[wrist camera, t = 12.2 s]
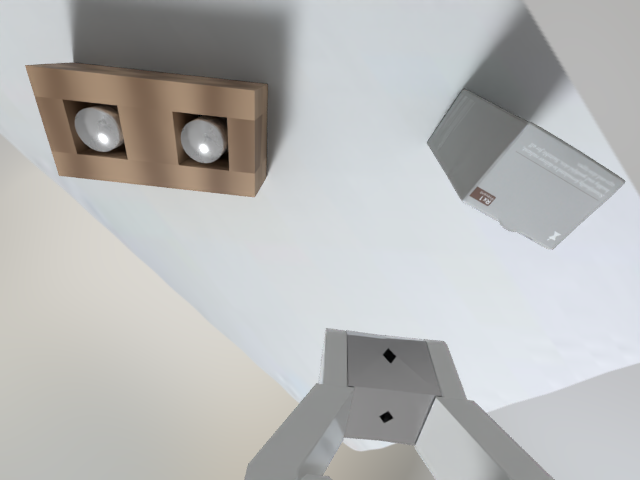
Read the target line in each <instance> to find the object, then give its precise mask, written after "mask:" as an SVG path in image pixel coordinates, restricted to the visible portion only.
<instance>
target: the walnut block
mask: <svg viewBox="0 0 640 480" xmlns="http://www.w3.org/2000/svg"><path fill="white" fill-rule="evenodd" d="M25 66H26V70H27V73H28V76H29V79H30V83H31V86H32V89H33V92H34V96H35V99H36V102H37V105H38V109H39V112H40V115H41V118H42V122H43V125H44V128H45V131H46V135H47V138H48V141H49V144H50V147H51V151H52V154H53V157H54V160H55V164H56V167H57V170H58V173H59V176H67V177H76V178H85V179H94V180H103V181H112V182H121V183H130V184H139V185H148V186H157V187H166V188H175V189H184V190H193V191H202V192H211V193H220V194H230V195H239V196H248V197H255V196H256V194H257V193H258V191H259V189H260V187H261V186H262V184H263V182H264V181H265V179H266V165H267V100H268V84H264V83H254V82H245V81H236V80H227V79H218V78H209V77H200V76H191V75H182V74H173V73H164V72H155V71H146V70H137V69H127V68H118V67H109V66H100V65H91V64H82V63H56V64H39V65H25ZM102 104H109V105H117V107H118V112H119V117H120V123H121V128H122V133H123V138H124V143H125V144H123V145H121V146H119V147H117V148H115V149H112V150H110V151H107V152H101V151H96V150H94V149H92V148H90V147H89V146H87V145H86V144H85V143H84V142H83V141H82V140H81V139H80V137H79V135H78V134H77V131H76V128H75V117H76V115H77V113H78V112H79V111H81V110H82V109H85V108H89V107H93V106H98V105H102ZM198 114H200V115H209V116H218V117H227V127H228V151H229V152H225V153H223V154H222V155H221V156H220V157H219V158H218V159H217V160H215V161H214V162H211V163H201V162H198V161H195V160H194V159H192V158H191V157H190V156H189V155H188V154H187V153H186V152H185V150H184V149H183V146H182V143H181V132H182V129H183V128H184V126H185V125H186V124H187V123H189V122H191V121H193V120H195V119H197V118H198Z"/></svg>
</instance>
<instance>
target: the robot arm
mask: <svg viewBox="0 0 640 480" xmlns="http://www.w3.org/2000/svg"><path fill="white" fill-rule="evenodd" d="M344 438H356V439H369V440H380V441H387V442H394V443H401V444H408V445H415V449H416V450H417V452H418V453H419V455H420V457H421V458H422V459H423V461H424V463H425V464H426V466H427V467H428V469H429V470H430V472H431V474H432V475H433V477H434V478H435V480H554V479H553V478H552V477H551V476H550V475H549V474H548V473H547V472H546V471H545V470H544V469H543V468H542V467H541V466H540V465H539V464H538V463H537V462H536V461H534V459H533V458H532V457H531V456H530V455H529V454H528V453H527V452H526V451H525V450H524V449H522V448H521V447H520V446H519V445H518V444H517V443H516V442H515V441H514V440H513V439H512V438H511V437H510V436H509V435H508V434H507V433H506V432H505V431H504V430H503V429H502V428H501V427H500V426H499V425H498V424H497V423H496V422H495V421H494V420H493V419H492V418H491V417H490V416H489V415H488V414H487V413H486V412H485V411H484V410H483V409H482V408H481V407H480V406H479V405H478V404H476V403H475V402H474V401H471V400H467V398H466V395H465V392H464V390H463V387H462V384H461V381H460V379H459V376H458V373H457V370H456V368H455V365H454V362H453V359H452V357H451V354H450V351H449V348H448V346H447V344H446V343H445V342H444V341H437V340H427V339H424V340H423V339H416V338H406V337H396V336H387V335H377V334H369V333H362V332H355V331H347V330H346V331H344V330H337V329H330V328H326V330H325V337H324V344H323V350H322V357H321V365H320V374H319V383H316V385H315V386H314V387H313V388H312V389H311V390H310V392H309V393H308V394H307V395H306V396H305V398H304V399H303V400H302V401H301V402H300V404H299V405H298V406H297V407H296V408H295V409H294V411H293V412H292V413H291V414H290V415H289V417H288V418H287V419H286V420H285V421H284V422H283V424H282V425H281V426H280V427H279V428H278V430H277V431H276V432H275V433H274V434H273V436H272V437H271V438H270V439H269V440H268V441H267V443H266V444H265V445H264V446H263V447H262V449H261V450H260V451H259V452H258V453H257V455H256V456H255V457H254V458H253V459H252V461H251V462H250V463H249V464H248V467H247V471H246V475H245V480H332V479H331V478H330V477H329V476H323V474H324V472H325V470H326V469H327V467H328V465H329V464H330V462H331V460H332V458H333V457H334V455H335V453H336V452H337V450H338V448H339V446H340V444H341V443H342V441H343V439H344Z"/></svg>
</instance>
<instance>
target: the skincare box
mask: <svg viewBox="0 0 640 480" xmlns="http://www.w3.org/2000/svg"><path fill="white" fill-rule="evenodd" d="M427 144H428V146H429V147H430V149H431V150H432V152H433V154H434V156H435V157H436V159H437V160H438V162H439V164H440V165H441V167H442V169H443V170H444V172H445V173H446V175H447V177H448V179H449V180H450V182H451V184H452V185H453V187H454V189H455V191H456V192H457V194H458V196H459V197H460V199H461V200H462V202H463V203H465V204H467V205H469V206H470V207H472V208H474V209H476V210H478V211H480V212H481V213H483V214H485V215H487V216H489V217H490V218H492V219H494V220H496V221H498V222H499V223H500V225H501V226H502V227H503V228H504V229H506V230H508V231H511V232H517V233H519V234H521V235H523V236H525V237H526V238H528V239H530V240H532V241H534V242H535V243H537V244H539V245H541V246H543V247H545V248H546V249H550V250H553V249H554V248H555V247H556V246H557V245H558V244H559V243H560V242H561V241H562V240H564V239H565V238H566V237H567V236H568V235H569V234H570V233H571V232H572V231H573V230H574V229H575V228H576V227H577V226H578V225H580V224H581V223H582V222H583V221H584V220H585V219H586V218H587V217H589V216H590V215H591V214H592V213H593V212H594V211H595V210H597V209H598V208H599V207H600V206H601V205H602V204H603V203H604V202H606V201H607V200H608V199H609V198H610V197H611V196H612V195H613V194H614V193H615V192H616V191H617V190H618V189H619V188H620V187H621V186H622V185H623V184H624V183H625V180H623V179H622V178H620V177H619V176H618V175H616V174H615V173H613V172H612V171H610V170H609V169H607V168H605V167H604V166H602V165H601V164H599V163H598V162H596V161H595V160H593V159H592V158H590V157H588V156H587V155H585V154H584V153H582V152H581V151H579V150H577V149H576V148H574V147H572V146H571V145H569V144H568V143H566V142H564V141H563V140H561V139H559V138H558V137H556V136H554V135H553V134H551V133H549V132H548V131H546V130H544V129H543V128H541V127H539V126H537V125H535V124H534V123H532V122H528V121H526V120H524V119H522V118H520V117H518V116H516V115H514V114H512V113H510V112H508V111H506V110H504V109H502V108H500V107H498V106H497V105H495V104H493V103H491V102H489V101H487V100H486V99H484V98H482V97H480V96H478V95H476V94H474V93H472V92H470V91H468V90H466V89H463V90H462V91H461V93H460V94H459V96H458V97H457V99H456V100H455V102H454V103H453V105H452V106H451V108H450V109H449V111H448V112H447V114H446V115H445V117H444V118H443V120H442V121H441V122H440V124H439V125H438V127H437V128H436V130H435V131H434V133H433V134H432V136H431V137H430V139H429V140H428V142H427Z"/></svg>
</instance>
